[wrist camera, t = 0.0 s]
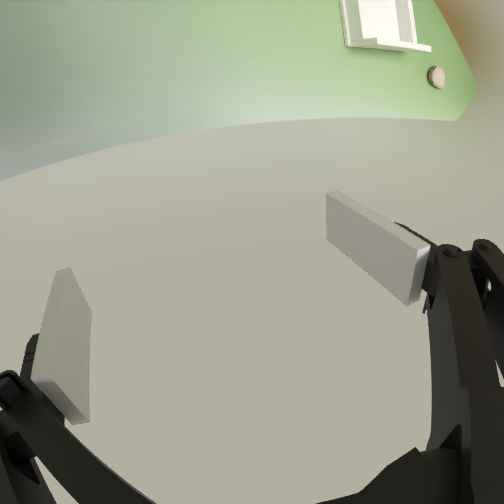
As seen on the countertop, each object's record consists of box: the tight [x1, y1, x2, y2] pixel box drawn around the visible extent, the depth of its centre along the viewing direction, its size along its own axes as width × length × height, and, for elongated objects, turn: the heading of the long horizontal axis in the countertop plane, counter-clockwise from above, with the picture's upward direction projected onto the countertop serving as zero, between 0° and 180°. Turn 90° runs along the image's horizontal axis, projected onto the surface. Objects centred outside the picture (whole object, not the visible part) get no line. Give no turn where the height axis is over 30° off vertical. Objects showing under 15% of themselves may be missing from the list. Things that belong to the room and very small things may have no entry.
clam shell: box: [429, 66, 445, 89], centre depth 46 cm, size 4×5×2 cm
